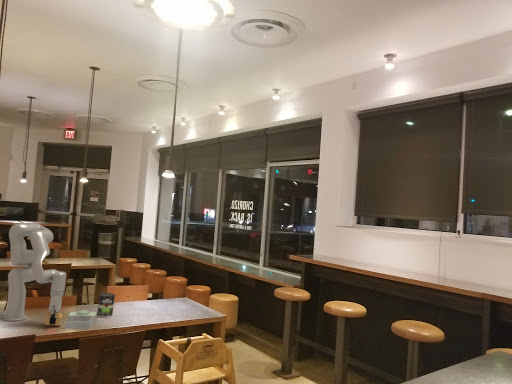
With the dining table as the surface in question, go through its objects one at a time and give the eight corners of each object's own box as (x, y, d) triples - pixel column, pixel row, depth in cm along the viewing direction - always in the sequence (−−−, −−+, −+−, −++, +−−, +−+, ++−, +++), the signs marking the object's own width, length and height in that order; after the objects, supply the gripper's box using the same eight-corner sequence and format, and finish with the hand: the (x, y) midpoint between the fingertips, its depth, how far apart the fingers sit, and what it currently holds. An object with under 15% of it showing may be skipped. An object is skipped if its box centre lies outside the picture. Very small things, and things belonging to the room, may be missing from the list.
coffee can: (113, 317, 269) (115, 296, 270) (96, 317, 265) (99, 296, 266) (112, 313, 279) (114, 292, 279) (96, 313, 275) (98, 292, 275)
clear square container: (64, 328, 238) (65, 321, 238) (69, 321, 252) (70, 315, 252) (89, 328, 241) (90, 321, 242) (93, 322, 255) (94, 315, 256)
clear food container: (67, 322, 251) (68, 313, 252) (70, 318, 260) (71, 309, 261) (94, 322, 255) (94, 313, 255) (96, 318, 264) (97, 310, 264)
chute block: (45, 324, 238) (46, 314, 238) (47, 322, 243) (49, 312, 243) (59, 325, 240) (61, 314, 240) (61, 322, 244) (63, 312, 245)
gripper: (54, 289, 249) (50, 318, 249) (46, 295, 233) (42, 326, 232) (67, 289, 251) (63, 318, 250) (60, 296, 234) (56, 327, 234)
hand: (53, 322), depth 241 cm, fingers closed on chute block, 5 cm apart
